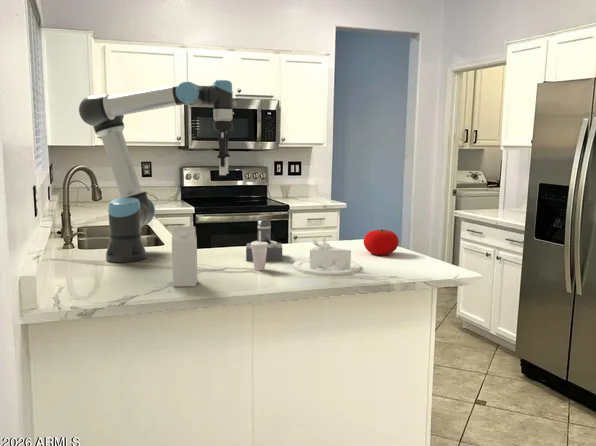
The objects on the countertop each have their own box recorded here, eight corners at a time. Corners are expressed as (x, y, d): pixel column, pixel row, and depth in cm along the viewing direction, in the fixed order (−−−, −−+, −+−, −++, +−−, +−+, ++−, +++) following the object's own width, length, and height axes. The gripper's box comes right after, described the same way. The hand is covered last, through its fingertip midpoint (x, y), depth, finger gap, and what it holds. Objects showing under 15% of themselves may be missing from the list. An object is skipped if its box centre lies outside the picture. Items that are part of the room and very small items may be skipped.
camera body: (246, 261, 215) (246, 245, 215) (246, 255, 226) (246, 240, 225) (282, 260, 216) (282, 245, 216) (281, 255, 227) (281, 240, 226)
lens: (257, 246, 218) (257, 221, 216) (257, 244, 223) (257, 219, 222) (270, 246, 218) (270, 221, 217) (270, 244, 223) (270, 219, 222)
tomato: (359, 255, 227) (360, 230, 226) (367, 249, 239) (368, 225, 238) (394, 258, 222) (395, 232, 221) (400, 252, 234) (401, 228, 232)
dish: (282, 272, 199) (282, 241, 197) (307, 258, 222) (307, 230, 220) (348, 279, 190) (349, 247, 188) (367, 264, 213) (368, 235, 211)
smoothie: (270, 268, 204) (270, 230, 202) (264, 272, 198) (264, 233, 196) (254, 266, 206) (254, 229, 204) (247, 270, 200) (247, 232, 198)
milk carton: (175, 281, 184) (174, 224, 182) (197, 281, 185) (196, 224, 182) (172, 287, 177) (171, 228, 175) (195, 286, 178) (194, 228, 175)
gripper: (231, 119, 209) (231, 176, 212) (234, 121, 234) (234, 172, 237) (211, 119, 209) (212, 176, 212) (216, 121, 233) (216, 172, 236)
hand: (224, 174), depth 224 cm, fingers open, 13 cm apart
